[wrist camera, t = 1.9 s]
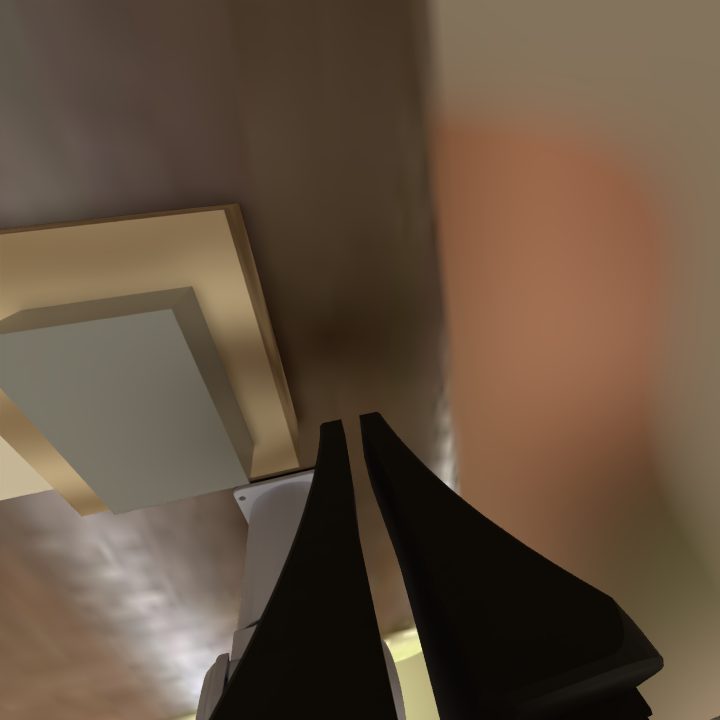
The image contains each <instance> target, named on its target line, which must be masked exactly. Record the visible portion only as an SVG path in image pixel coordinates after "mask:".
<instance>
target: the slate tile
mask: <svg viewBox="0 0 720 720" xmlns="http://www.w3.org/2000/svg"><path fill="white" fill-rule="evenodd" d="M0 388H1V389H2V390H3V392H4V393H5V394H6V395H7V396H8V397H9V398H10V399H11V400H12V402H13V403H14V404H15V405H16V406H17V407H18V408H19V409H20V410H21V411H22V413H23V414H24V415H25V416H26V417H27V418H28V419H29V420H30V421H31V423H32V424H33V425H34V426H35V427H36V428H37V429H38V430H39V431H40V433H41V434H42V435H43V436H44V437H45V438H46V439H47V440H48V441H49V442H50V444H51V445H52V446H53V447H54V448H55V449H56V450H57V451H58V452H59V454H60V455H61V456H62V457H63V458H64V459H65V460H66V461H67V462H68V464H69V465H70V466H71V467H72V468H73V469H74V470H75V471H76V472H77V473H78V475H79V476H80V477H81V478H82V479H83V480H84V481H85V482H86V483H87V485H88V486H89V487H90V488H91V489H92V490H93V491H94V492H95V493H96V494H97V496H98V497H99V498H100V499H101V500H102V501H103V502H104V503H105V504H106V506H107V507H108V508H109V509H110V510H111V511H112V512H113V513H114V514H115V515H116V514H120V513H125V512H129V511H133V510H138V509H142V508H147V507H151V506H155V505H160V504H164V503H168V502H173V501H177V500H181V499H186V498H190V497H194V496H199V495H203V494H207V493H212V492H216V491H220V490H225V489H229V488H233V487H238V486H242V485H246V484H250V477H251V469H252V461H253V453H254V443H253V440H252V438H251V435H250V433H249V430H248V428H247V425H246V423H245V420H244V417H243V415H242V412H241V410H240V407H239V405H238V402H237V400H236V397H235V395H234V392H233V389H232V387H231V384H230V382H229V379H228V377H227V374H226V372H225V369H224V366H223V364H222V361H221V359H220V356H219V354H218V351H217V349H216V346H215V343H214V341H213V338H212V336H211V333H210V331H209V328H208V326H207V323H206V321H205V318H204V315H203V313H202V310H201V308H200V305H199V303H198V300H197V298H196V295H195V292H194V290H193V287H192V286H189V287H182V288H175V289H168V290H161V291H154V292H147V293H140V294H133V295H125V296H118V297H111V298H104V299H97V300H90V301H83V302H76V303H69V304H62V305H55V306H48V307H41V308H34V309H27V310H20V311H18V312H16V313H14V314H12V315H10V316H8V317H6V318H4V319H2V320H0Z"/></svg>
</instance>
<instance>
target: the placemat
mask: <svg viewBox="0 0 720 720" xmlns="http://www.w3.org/2000/svg"><path fill="white" fill-rule="evenodd" d="M51 489H54V488H53V487H52V486H51V485H50V484H49V483H48V482H47V481H46V480H45V479H44V478H43V477H42V476H40V475H39V474H38V473H37V472H36V471H35V470H34V469H33V468H32V467H31V466H30V465H29V464H28V463H27V462H26V461H25V460H24V459H23V458H22V457H21V456H20V455H19V454H18V453H17V452H16V451H15V450H14V449H13V448H12V447H11V446H10V445H9V444H8V443H7V442H6V441H5V440H4V439H3V438H2V437H1V436H0V500H4V499H9V498H14V497H18V496H23V495H28V494H32V493H37V492H42V491H46V490H51Z"/></svg>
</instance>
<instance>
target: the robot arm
mask: <svg viewBox="0 0 720 720" xmlns="http://www.w3.org/2000/svg"><path fill="white" fill-rule="evenodd" d="M359 416H360V425H361V433H362V442H363V450H364V458H365V462H366V466H367V470H368V474H369V478H370V482H371V486H372V489H373V491H374V494H375V497H376V500H377V503H378V505H379V508H380V511H381V514H382V516H383V519H384V522H385V525H386V528H387V530H388V533H389V536H390V539H391V541H392V544H393V547H394V550H395V553H396V556H397V559H398V562H399V565H400V568H401V572H402V576H403V579H404V583H405V587H406V590H407V594H408V598H409V601H410V605H411V609H412V613H413V617H414V620H415V624H416V628H417V632H418V635H419V639H420V643H421V647H422V651H423V654H424V658H425V662H426V666H427V670H428V674H429V678H430V682H431V685H432V689H433V693H434V697H435V701H436V705H437V709H438V713H439V717H440V720H649V719H648V717H649V716H651V715H652V711H651V709H650V707H649V705H648V704H647V703H646V701H645V700H644V698H643V697H642V696H641V694H640V692H639V691H638V690H637V688H636V687H637V686H638V685H640V684H641V683H643V682H644V681H646V680H647V679H648V678H650V677H652V676H653V675H655V674H656V673H657V672H658V671H660V670H661V669H662V668H663V666H664V664H663V658H662V656H661V655H660V654H659V652H658V651H657V650H656V649H655V648H654V646H653V645H652V644H651V642H650V641H649V640H648V639H647V637H646V636H645V635H644V633H643V632H642V631H641V630H640V629H639V628H638V626H637V625H636V624H635V623H634V621H633V620H632V619H631V618H630V617H629V616H628V615H627V614H626V613H625V611H623V610H622V609H621V607H620V606H619V605H618V604H617V603H616V602H615V601H614V600H613V598H612V597H610V596H608V595H606V594H605V593H603V592H601V591H600V590H598V589H596V588H595V587H593V586H591V585H589V584H588V583H586V582H584V581H583V580H581V579H579V578H577V577H576V576H574V575H572V574H571V573H569V572H567V571H566V570H564V569H563V568H561V567H559V566H558V565H556V564H554V563H553V562H551V561H550V560H548V559H547V558H545V557H543V556H542V555H540V554H539V553H537V552H536V551H534V550H532V549H531V548H529V547H528V546H526V545H525V544H523V543H522V542H520V541H519V540H518V539H516V538H515V537H513V536H512V535H510V534H509V533H508V532H506V531H505V530H503V529H502V528H500V527H499V526H498V525H496V524H495V523H493V522H492V521H491V520H489V519H488V518H486V517H485V516H483V515H482V514H481V513H480V512H478V511H477V510H476V509H475V508H473V507H472V506H471V505H470V504H468V503H467V502H466V501H465V500H463V499H462V498H461V497H460V496H459V495H457V494H456V493H455V492H454V491H453V490H451V489H450V488H449V487H448V486H447V485H446V484H445V483H443V482H442V481H441V480H440V479H439V478H438V477H437V476H436V475H435V474H434V473H433V472H432V471H430V470H429V469H428V468H427V467H426V466H425V465H424V464H423V463H422V462H421V461H420V460H419V459H418V458H417V457H416V456H415V455H414V453H413V452H412V451H411V450H410V449H409V448H408V447H407V446H406V445H405V444H404V443H403V442H402V441H401V439H400V438H399V437H398V436H397V435H396V434H395V432H394V431H393V430H392V429H391V427H390V426H389V425H388V424H387V422H386V421H385V420H384V418H383V417H382V416H381V414H380V413H378V412H374V413H369V414H364V415H359ZM234 497H235V499H236V501H237V503H238V505H239V507H240V509H241V511H242V513H243V515H244V517H245V519H246V521H247V522H248V524H249V528H248V537H247V546H246V555H245V564H244V573H243V582H242V591H241V600H240V609H239V618H238V627H237V631H235V632H234V637H233V646H232V654H231V661H229V653H226V654H221V655H219V656H218V657H217V659H216V662H215V663H214V664H213V665H212V666H211V668H210V669H209V670H208V671H207V673H206V675H205V678H204V682H203V686H202V690H201V695H200V699H199V704H198V709H197V715H196V720H406V716H405V708H404V702H403V696H402V691H401V686H400V682H399V678H398V674H397V670H396V667H395V663H394V660H393V658H392V655H391V653H390V650H389V648H388V646H387V645H386V643H385V642H384V640H383V639H382V638H381V637H380V633H379V629H378V624H377V619H376V615H375V610H374V605H373V600H372V596H371V591H370V586H369V582H368V577H367V572H366V567H365V563H364V558H363V553H362V548H361V544H360V538H359V530H358V521H357V513H356V505H355V496H354V488H353V482H352V476H351V469H350V463H349V457H348V450H347V444H346V438H345V433H344V429H343V425H342V421H341V419H340V420H336V421H331V422H326V423H323V424H322V425H321V426H320V442H319V449H318V455H317V461H316V465H315V469H313V470H309V471H305V472H300V473H296V474H292V475H287V476H283V477H279V478H274V479H270V480H266V481H261V482H257V483H253V484H248V485H244V486H240V487H237V488H236V489H235V490H234ZM711 720H720V716H718V717H715V718H713V719H711Z"/></svg>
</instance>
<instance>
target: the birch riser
mask: <svg viewBox="0 0 720 720" xmlns="http://www.w3.org/2000/svg"><path fill="white" fill-rule="evenodd" d="M189 286H192V287H193V290H194V292H195V295H196V298H197V300H198V303H199V305H200V308H201V310H202V313H203V315H204V318H205V321H206V323H207V326H208V328H209V331H210V333H211V336H212V338H213V341H214V343H215V346H216V349H217V351H218V354H219V356H220V359H221V361H222V364H223V366H224V369H225V372H226V374H227V377H228V379H229V382H230V384H231V387H232V389H233V392H234V395H235V397H236V400H237V402H238V405H239V407H240V410H241V412H242V415H243V417H244V420H245V423H246V425H247V428H248V430H249V433H250V435H251V438H252V440H253V443H254V453H253V461H252V469H251V477H250V478H253V477H257V476H261V475H266V474H270V473H275V472H279V471H283V470H288V469H292V468H297V467H299V446H298V423H297V419H296V415H295V411H294V407H293V404H292V400H291V396H290V392H289V389H288V385H287V381H286V377H285V374H284V370H283V366H282V362H281V359H280V355H279V351H278V347H277V344H276V340H275V336H274V332H273V329H272V325H271V321H270V318H269V314H268V310H267V306H266V303H265V299H264V295H263V291H262V288H261V284H260V280H259V276H258V273H257V269H256V265H255V261H254V258H253V254H252V250H251V246H250V243H249V239H248V235H247V231H246V228H245V224H244V220H243V216H242V213H241V209H240V205H239V203H233V204H224V205H215V206H206V207H197V208H188V209H179V210H169V211H160V212H151V213H142V214H133V215H124V216H115V217H106V218H97V219H87V220H78V221H69V222H60V223H51V224H42V225H33V226H24V227H14V228H5V229H0V320H2V319H4V318H6V317H8V316H10V315H12V314H14V313H16V312H18V311H20V310H27V309H34V308H41V307H48V306H55V305H62V304H69V303H76V302H83V301H90V300H97V299H104V298H111V297H118V296H125V295H133V294H140V293H147V292H154V291H161V290H168V289H175V288H182V287H189ZM0 436H1V437H2V438H3V439H4V440H5V441H6V442H7V443H8V444H9V445H10V446H11V447H12V448H13V449H14V450H15V451H16V452H17V453H18V454H19V455H20V456H21V457H22V458H23V459H24V460H25V461H26V462H27V463H28V464H29V465H30V466H31V467H32V468H33V469H34V470H35V471H36V472H37V473H38V474H39V475H40V476H42V477H43V478H44V479H45V480H46V481H47V482H48V483H49V484H50V485H51V486H52V487H53V488H54V489H55V490H56V491H57V492H58V493H59V494H60V495H61V496H62V497H63V498H64V499H65V500H66V501H67V502H68V503H69V504H70V505H71V506H72V507H73V508H74V509H75V510H76V511H77V512H78V513H79V514H80V515H81V516H86V515H90V514H95V513H99V512H103V511H108V510H110V509H109V508H108V507H107V506H106V504H105V503H104V502H103V501H102V500H101V499H100V498H99V497H98V496H97V494H96V493H95V492H94V491H93V490H92V489H91V488H90V487H89V486H88V485H87V483H86V482H85V481H84V480H83V479H82V478H81V477H80V476H79V475H78V473H77V472H76V471H75V470H74V469H73V468H72V467H71V466H70V465H69V464H68V462H67V461H66V460H65V459H64V458H63V457H62V456H61V455H60V454H59V452H58V451H57V450H56V449H55V448H54V447H53V446H52V445H51V444H50V442H49V441H48V440H47V439H46V438H45V437H44V436H43V435H42V434H41V433H40V431H39V430H38V429H37V428H36V427H35V426H34V425H33V424H32V423H31V421H30V420H29V419H28V418H27V417H26V416H25V415H24V414H23V413H22V411H21V410H20V409H19V408H18V407H17V406H16V405H15V404H14V403H13V402H12V400H11V399H10V398H9V397H8V396H7V395H6V394H5V393H4V392H3V390H2V389H1V388H0Z"/></svg>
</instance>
